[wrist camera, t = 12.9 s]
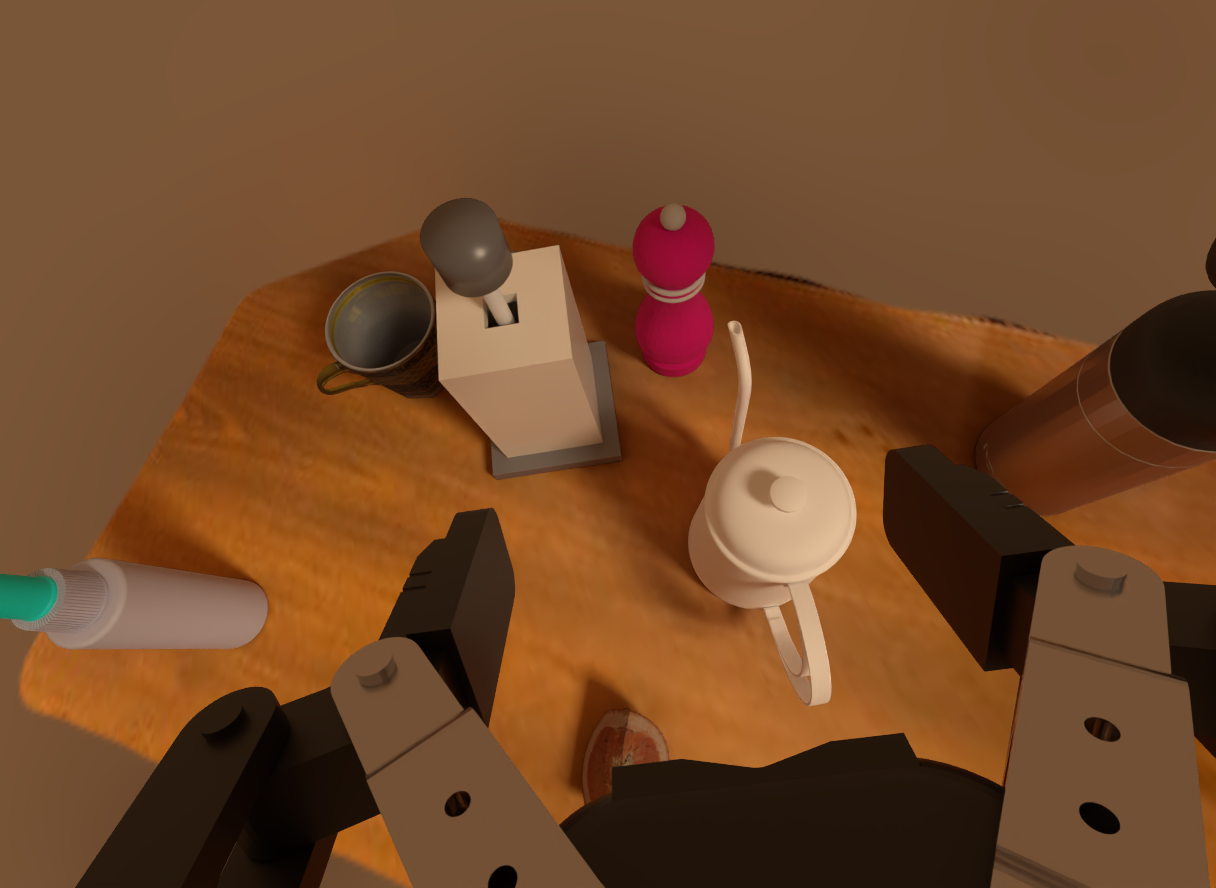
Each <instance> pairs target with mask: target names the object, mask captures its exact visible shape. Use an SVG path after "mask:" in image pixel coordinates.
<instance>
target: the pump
mask: <svg viewBox="0 0 1216 888" xmlns="http://www.w3.org/2000/svg"><path fill="white" fill-rule="evenodd" d="M420 241H421V245H422V248H423V250H424V251H425V253H426V255H427V256H428V258H429V259H430V261H431V262H432V264H433V266H434V267H435V269H436V270H437V272H438V273H439V275H440V277H441V278H442V280H443V281H444V283H445V284H446V286H447V287H448V288H449V289H450V290H451V291H452V292H454V293H456V294H458V295H460V296H464V297H480V296H483V298H484V300H485V302H486V303H487V305H488V307H489V309H490V311H491V312H492V314H493V316H494V318H495V320H496V321H497V323H498V325H499V326H505V325H511V324H516V321H515V319H514V317H513V315H512V313H511V311H510V309H509V307H508V305H507V303H506V301H505V299H504V297H503V295H502V293H501V291H500V289H499V287H501V286H502V285H503V284H504V283H505V281H506V280H507V279H508V277H509V275H510V273H511V270H512V266H513V258H512V254H511V251H510V248H509V246H508V244H507V241H506V239H505V237H504V234H503V232H502V229H501V227H500V225H499V222H498V220H497V217H496V215H495V213H494V212H493V210H492V209H491V208H490V207H489V206H488V205H487V204H485V203H484V202H482V201H479V200H476V199H472V198H460V199H454V200H451V201H448V202H446V203H444V204H442V205H440V206H438V207H437V208H436V209H434V211H432V212H431V213H430V214H429V216H428V217H427V218H426V220H425V221H424V223H423V225H422V228H421V233H420Z"/></svg>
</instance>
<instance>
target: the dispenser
mask: <svg viewBox="0 0 1216 888" xmlns="http://www.w3.org/2000/svg"><path fill="white" fill-rule="evenodd" d="M511 254H512V258H513V266H512V270H511V273H510V275H509V277H508V279H507V280H506V281H505V283H504V284H503V285H502V286H501V287H499V289H500V291H501V293H502V295H503V297H504V299H505V301H506V303H507V305H508V307H509V309H510V311H511V313H512V315H513V317H514V319H515V321H516V324H511V325H505V326H499V325H498V323H497V321H496V320H495V318H494V316H493V314H492V312H491V311H490V309H489V307H488V305H487V303H486V302H485V300H484V298H483V296H480V297H464V296H460V295H458V294H456V293H454V292H452V291H451V290H450V289H449V288H448V287H447V286H446V284H445V283H444V281H443V280H442V278H441V277H440V275H439V273H438V272H437V270H436V269H435V285H436V314H437V343H438V372H439V381H440V383H441V384H442V385H443V386H444V387H445V388H446V389H447V390H448V392H449V393H450V394H451V395H452V396H453V397H454V398H455V399H456V401H457V402H458V403H459V404H460V405H461V406H462V407H463V408H464V409H465V411H466V412H467V413H468V414H469V415H470V416H471V417H472V418H473V420H474V421H475V422H476V423H477V424H478V425H479V426H480V427H481V429H482V430H483V431H484V432H485V433H486V434H487V435H488V436H489V438H490V439H491V454H492V469H493V476H494V477H495V478H496V479H497V480H500V479H507V478H513V477H520V476H526V475H533V474H539V473H545V472H552V471H558V470H565V469H571V468H578V467H584V466H590V465H597V464H603V463H610V462H616V461H622V453H621V446H620V439H619V432H618V425H617V418H616V411H615V404H614V397H613V390H612V383H611V376H610V369H609V362H608V355H607V348H606V344H605V340H604V341H598V342H592V343H587V340H586V336H585V333H584V329H583V326H582V323H581V319H580V316H579V312H578V309H577V305H576V302H575V299H574V295H573V292H572V288H571V285H570V282H569V278H568V275H567V271H566V268H565V264H564V261H563V258H562V254H561V251H560V247H559V245H556V246H550V247H545V248H539V249H534V250H528V251H522V252H517V253H516V251H512V252H511Z"/></svg>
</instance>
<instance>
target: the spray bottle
mask: <svg viewBox="0 0 1216 888" xmlns="http://www.w3.org/2000/svg"><path fill="white" fill-rule="evenodd" d="M267 613H268V601H267V598H266V595H265V593H264V591H263V590H262V589H261V588H260V587H259V586H258V585H257V584H255V583H253V582H251V581H247V580H241V579H234V578H228V577H221V576H215V575H209V574H202V573H196V572H189V571H183V570H177V569H170V568H164V567H157V566H151V565H144V564H138V563H132V562H125V561H119V560H112V559H106V558H91V559H87V560H84V561H81V562H79V563H77V564H75V565H73V566H72V567H70V568H69V569H67V570H66V569H53V568H43V569H39V570H36V571H34V572H33V573H30V575H28V576H19V575H7V574H0V618H5V619H12V620H11V621H12V622H13V624H14V625H15V626H16V627H18V628H20V629H23V630H30V631H42V632H45V633H46V635H47V636H48V638H49V639H50V640H51V641H52V642H53V643H54V644H56V645H58V646H60V647H62V648H67V649H232V648H237V647H240V646H243V645H245V644H247V643H248V642H250V641H251V640H252V639H253V638H255V636H256V635H257V634H258V633H259V632H260V630H261V629H262V627H263V625H264V623H265V621H266V618H267Z"/></svg>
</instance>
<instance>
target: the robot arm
mask: <svg viewBox="0 0 1216 888" xmlns="http://www.w3.org/2000/svg"><path fill="white" fill-rule="evenodd" d="M1206 272H1207V274H1208V278H1209V280H1210V282H1211V283H1212V285H1213V286H1214V287H1215V288H1216V238H1215V240H1214V242H1213V244H1212V246H1211V248H1210V250H1209V252H1208V255H1207V260H1206ZM1214 459H1216V291H1215V290H1214V291H1211V290H1209V291H1200V292H1193V293H1188V294H1184V295H1180V296H1177V297H1174V298H1172V299H1169V300H1167V301H1165V302H1163V303H1161V304H1159V305H1157V306H1156V307H1154V308H1152V309H1151V310H1149V311H1148V312H1146V313H1145V314H1144V315H1142V316H1141V317H1139V318H1138V319H1136V320H1135V321H1134V322H1133V323H1131V324H1129V325H1128V326H1127V327H1125V328H1124V329H1123V330H1121V331H1120V332H1118V333H1117V334H1116V335H1114V336H1113V337H1111V338H1110V339H1108V340H1107V341H1106V342H1104V343H1103V344H1101V345H1100V346H1099V347H1098V348H1096V349H1095V350H1093V351H1092V352H1091V353H1089V354H1088V355H1086V356H1085V357H1084V358H1082V359H1081V360H1079V361H1078V362H1077V363H1075V364H1074V365H1072V366H1071V367H1069V368H1068V369H1067V370H1065V371H1064V372H1062V373H1061V374H1060V375H1058V376H1057V377H1055V378H1054V379H1053V380H1051V381H1050V382H1048V383H1047V384H1046V385H1044V386H1043V387H1041V388H1040V389H1039V390H1037V391H1036V392H1034V393H1033V394H1032V395H1030V396H1029V397H1027V398H1026V399H1025V400H1023V401H1022V402H1020V403H1019V404H1017V405H1016V406H1015V407H1013V408H1012V409H1010V410H1009V411H1008V412H1006V413H1005V414H1003V415H1002V416H1001V417H999V418H998V419H996V420H995V421H994V422H992V423H991V424H989V425H988V426H987V428H986V429H985V430H984V431H983V432H982V434H981V435H980V437H979V439H978V441H977V445H976V449H975V462H976V466H977V470H976V469H973V468H971V467H968V466H966V465H964V464H962V465H955V464H954V463H953V462H952V461H950V460H949V459H948V458H947V457H946V456H945V455H943V454H942V453H941V452H940V451H939V450H938V449H937V448H935V447H934V446H933V445H930V444H927V445H920V446H914V447H907V448H900V449H893V450H890V451H889V452H888V453H887V455H886V459H885V477H884V501H883V524H884V529H885V533H886V536H887V539H888V541H889V543H890V545H891V547H892V548H893V550H894V551H895V552H896V554H897V555H898V556H899V558H900V559H901V560H902V562H903V563H904V564H905V566H906V567H907V568H908V570H909V571H910V572H911V574H912V575H913V577H914V578H915V579H916V581H917V582H918V583H919V585H920V586H921V587H922V589H923V590H924V591H925V593H926V594H927V595H928V597H929V598H930V599H931V601H932V602H933V603H934V605H935V606H936V607H937V609H938V610H939V611H940V613H941V614H942V615H943V617H944V618H945V619H946V621H947V622H948V623H949V625H950V626H951V627H952V629H953V630H954V631H955V633H956V634H957V636H958V637H959V638H960V640H961V641H962V642H963V644H964V645H965V646H966V648H967V649H968V650H969V652H970V653H971V654H972V656H973V657H974V658H975V660H976V661H977V662H978V664H979V665H980V666H981V668H982V669H983V670H984V671H992V670H1001V669H1009V668H1014V669H1015V671H1016V672H1017V673H1018V674H1019V676H1020V681H1019V686H1018V692H1017V697H1016V703H1015V709H1014V715H1013V721H1012V727H1011V733H1010V739H1009V745H1008V751H1007V757H1006V763H1005V769H1004V775H1003V780H1002V786H1000V785H999V784H997V783H995V782H993V781H991V780H989V779H987V778H984V777H982V776H980V775H977V774H975V773H973V772H970V771H968V770H965V769H962V768H959V767H956V766H953V765H950V764H946V763H942V762H938V761H933V760H929V759H923V758H917V757H916V755H915V754H914V752H913V750H912V748H911V746H910V744H909V742H908V740H907V738H906V736H905V735H904V733H898V734H890V735H881V736H873V737H864V738H856V739H847V740H839V741H830V742H828V743H825V744H823V745H820V746H817V747H815V748H812V749H810V750H807V751H804V752H802V753H799V754H797V755H794V756H792V757H789V758H786V759H784V760H781V761H779V762H776V763H774V764H771V765H768V766H765V767H760V768H751V767H743V766H735V765H726V764H718V763H710V762H702V761H694V760H686V759H677V760H669V761H660V762H652V763H643V764H635V765H626V766H618V767H612V792H610V793H608V794H605V795H603V796H600V797H599V798H597V799H595V800H593V801H591V802H589V803H587V804H585V805H584V806H583V807H581V808H580V809H578V810H577V811H575V812H574V813H573V814H571V815H570V816H569V817H568V818H566V819H565V820H564V821H563V822H562V823H561V824H560V825H558V824H557V822H556V821H555V820H554V818H553V817H552V816H551V814H550V813H549V811H548V810H547V809H546V807H545V806H544V805H543V803H542V802H541V800H540V799H539V798H538V796H537V795H536V794H535V792H534V791H533V790H532V788H531V787H530V785H529V784H528V783H527V781H526V780H525V779H524V777H523V776H522V775H521V773H520V772H519V770H518V769H517V768H516V766H515V765H514V764H513V762H512V761H511V759H510V758H509V757H508V755H507V754H506V753H505V751H504V750H503V749H502V747H501V746H500V744H499V743H498V742H497V740H496V739H495V738H494V736H493V735H492V733H491V732H490V731H489V729H488V727H489V722H490V717H491V712H492V707H493V702H494V697H495V692H496V687H497V682H498V677H499V672H500V667H501V662H502V657H503V652H504V647H505V642H506V637H507V632H508V627H509V622H510V617H511V612H512V607H513V603H514V597H515V580H514V572H513V568H512V564H511V561H510V557H509V554H508V550H507V547H506V543H505V540H504V537H503V533H502V530H501V526H500V523H499V519H498V516H497V514H496V512H495V510H494V509H493V508H487V509H480V510H473V511H467V512H460V513H457V514H456V515H455V517H454V519H453V521H452V524H451V526H450V529H449V531H448V533H447V536H446V538H444V539H438V540H434V541H433V542H432V543H431V544H430V545H429V546H428V547H427V548H426V549H425V550H424V551H423V552H422V553H421V554H420V555H419V556H418V557H417V559H416V561H415V563H414V565H413V567H412V569H411V572H410V574H409V575H410V577H409V578H407V580H406V582H405V584H404V587H403V592H401V593H400V595H399V597H398V600H397V602H396V604H395V606H394V608H393V610H392V612H391V615H390V617H389V619H388V621H387V623H386V625H385V627H384V630H383V632H382V634H381V636H380V638H379V640H378V641H376V642H373V643H371V644H369V645H367V646H365V647H363V648H361V649H360V650H358V651H356V652H355V653H354V654H353V655H351V656H350V657H349V658H348V659H347V660H346V661H345V662H344V663H343V664H342V665H341V666H340V667H339V669H338V670H337V672H336V673H335V675H334V677H333V679H332V683H331V687H328V688H326V689H324V690H321V691H318V692H316V693H313V694H311V695H308V696H305V697H303V698H300V699H297V700H295V701H292V702H289V703H287V704H284V705H281V706H280V704H279V702H278V700H277V699H276V697H275V695H274V694H273V692H272V691H270V690H269V689H267V688H263V687H249V688H244V689H240V690H237V691H234V692H232V693H229V694H227V695H225V696H223V697H221V698H219V699H217V700H216V701H214V702H213V703H211V704H209V705H208V706H207V707H205V708H204V709H203V710H201V711H200V712H199V713H198V714H197V715H195V716H194V717H193V718H192V719H191V720H190V721H189V722H188V723H187V724H186V726H185V727H184V728H183V729H182V731H181V732H180V733H179V735H178V736H177V738H176V739H175V741H174V742H173V744H172V745H171V747H170V748H169V750H168V751H167V753H166V754H165V756H164V757H163V759H162V760H161V762H160V763H159V764H158V766H157V767H156V769H155V770H154V772H153V773H152V775H151V776H150V778H149V779H148V781H147V782H146V784H145V785H144V787H143V788H142V790H141V791H140V793H139V794H138V796H137V797H136V799H135V800H134V802H133V803H132V804H131V806H130V808H129V809H128V810H127V812H126V813H125V815H124V816H123V818H122V820H121V821H120V822H119V824H118V825H117V827H116V828H115V830H114V831H113V832H112V834H111V835H110V837H109V838H108V840H107V842H106V843H105V844H104V846H103V847H102V849H101V851H100V852H99V853H98V855H97V856H96V858H95V859H94V861H93V862H92V864H91V865H90V866H89V868H88V869H87V871H86V872H85V874H84V875H83V877H82V878H81V880H80V881H79V883H78V884H77V886H76V887H75V888H319V886H320V884H321V881H322V878H323V875H324V872H325V869H326V866H327V863H328V860H329V857H330V854H331V851H332V848H333V845H334V842H335V839H336V837H337V834H338V832H339V831H342V830H344V829H346V828H349V827H351V826H353V825H356V824H358V823H360V822H362V821H365V820H367V819H369V818H372V817H374V816H376V815H378V814H381V815H382V817H383V820H384V822H385V824H386V827H387V829H388V831H389V833H390V836H391V838H392V840H393V843H394V845H395V847H396V850H397V852H398V854H399V856H400V859H401V861H402V863H403V866H404V868H405V870H406V873H407V875H408V877H409V880H410V882H411V884H412V886H413V888H1210V883H1209V874H1208V864H1207V855H1206V845H1205V836H1204V826H1203V817H1202V807H1201V798H1200V788H1199V779H1198V769H1197V760H1196V750H1195V741H1194V736H1195V737H1196V738H1197V739H1198V740H1199V741H1200V742H1201V743H1202V745H1203V746H1204V747H1205V748H1206V749H1207V750H1208V751H1209V752H1210V753H1211V754H1212V755H1213V756H1214V757H1215V758H1216V585H1204V584H1190V583H1176V582H1164V581H1162V580H1161V578H1160V577H1159V576H1158V575H1157V574H1156V573H1155V572H1154V571H1153V570H1152V569H1151V568H1149V567H1148V566H1146V565H1145V564H1143V563H1142V562H1140V561H1138V560H1136V559H1134V558H1132V557H1129V556H1127V555H1124V554H1122V553H1119V552H1115V551H1112V550H1108V549H1104V548H1098V547H1092V546H1076V545H1074V544H1073V543H1072V542H1071V541H1070V540H1068V539H1067V538H1066V537H1065V536H1063V535H1062V534H1061V533H1060V532H1059V531H1057V530H1056V529H1055V528H1054V527H1052V526H1051V525H1050V524H1049V523H1047V522H1046V521H1045V520H1044V519H1043V518H1041V517H1040V516H1039V515H1053V514H1059V513H1062V512H1065V511H1068V510H1071V509H1074V508H1077V507H1080V506H1082V505H1085V504H1088V503H1092V502H1095V501H1098V500H1100V499H1103V498H1106V497H1109V496H1112V495H1115V494H1118V493H1120V492H1123V491H1126V490H1129V489H1132V488H1135V487H1138V486H1141V485H1143V484H1146V483H1149V482H1152V481H1155V480H1158V479H1161V478H1163V477H1166V476H1169V475H1172V474H1175V473H1178V472H1181V471H1184V470H1186V469H1189V468H1192V467H1195V466H1198V465H1201V464H1204V463H1206V462H1209V461H1211V460H1214ZM236 842H237V843H236ZM235 843H236V845H235ZM234 846H235V847H234ZM233 848H234V849H233ZM232 850H233V851H232ZM231 852H232V853H231ZM230 854H231V855H230ZM229 856H230V857H229ZM228 858H229V859H228ZM227 860H228V861H227ZM226 862H227V863H226ZM225 864H226V865H225ZM224 866H225V867H224ZM223 868H224V869H223ZM222 870H223V872H222ZM221 873H222V874H221ZM220 875H221V876H220Z"/></svg>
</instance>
